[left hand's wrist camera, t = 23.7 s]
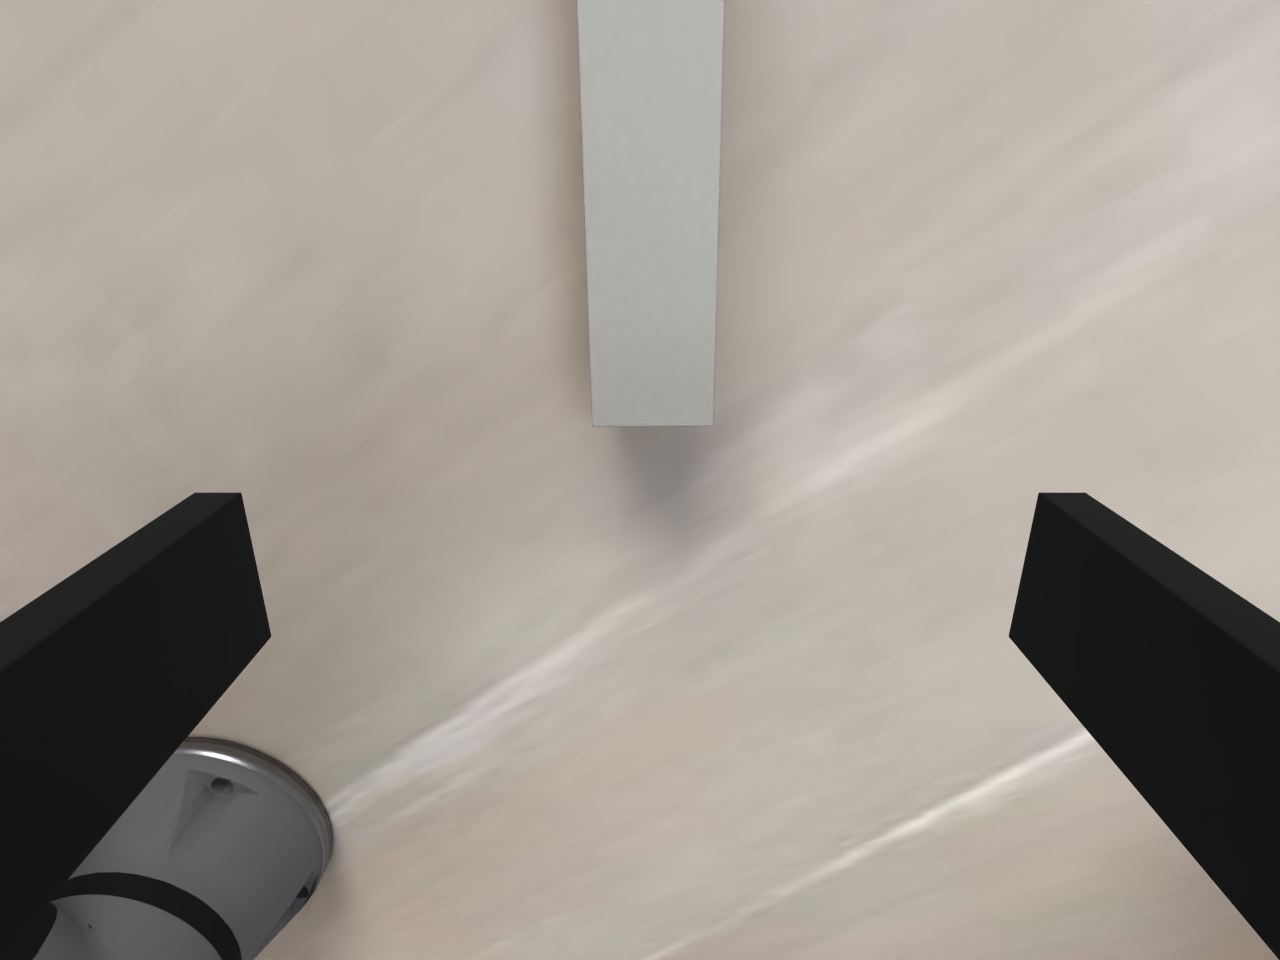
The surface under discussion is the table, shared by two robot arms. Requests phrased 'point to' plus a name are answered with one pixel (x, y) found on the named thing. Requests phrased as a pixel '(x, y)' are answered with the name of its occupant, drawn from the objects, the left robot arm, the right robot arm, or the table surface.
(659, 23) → the bar
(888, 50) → the table surface
